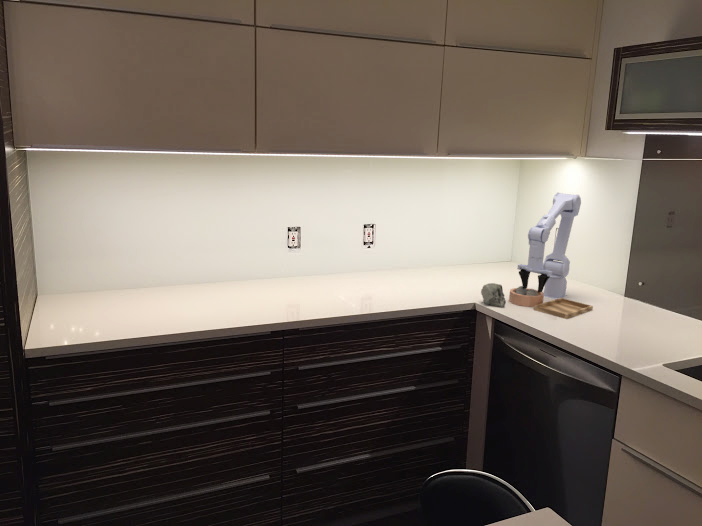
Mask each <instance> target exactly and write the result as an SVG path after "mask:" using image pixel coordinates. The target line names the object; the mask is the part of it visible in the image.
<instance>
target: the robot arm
mask: <svg viewBox="0 0 702 526" xmlns="http://www.w3.org/2000/svg"><path fill="white" fill-rule="evenodd" d="M581 204H582V199H581V197H580V195H579V194H571V193H563V192H556V193H555V194H554V196H553V198H552V206H551V208H550V209H549V211H548V213H547V214H544V215H542V217H541V218H540V220H539V221H538V222H537V223H536V225H535V226H532V227H530V229H529V230H528V233H527V239H528V246H529V250H528V260H527V264H522V263H520V264H519V263H518V264H517V270H519V271H518V275H519V277H520V279H521V286H523V288H524V289H525V288H528V286H529V285H528V284H529V278H530V276H531V275H530V274H531V273H535V274H538V275H537V279H538V281H537V282H538V287H537V290H538V292H543V293H544V297H546V298H551V299H553V300H555V299H559V298H564V297H568V295H566V293H567V292H566V291H567V286H568V285H567V283H568V282H567V279H566V277H568V275H569V272H570V263H571V261H570V260H569V257H567V256H566V251H567V249H568V248H567V247H568V243H569V238H570V235H571V231H572V227H573V224H574V219H575V217H576V216H578V215H579V213H580V209H581ZM559 216H561V218H560V221H559V225H558V226H559V227H558V228H557V229H558V230H557V233H556V237H555V242H554V246H553V250H552V252H551V253H549V254H547V255H546V256H545V247H546V243H547V241H548V240H549V237H550V235H551V230H553V228H554V226H555V225H556V224H557V223H556V220H557V218H558V217H559ZM544 256H545V258H544Z"/></svg>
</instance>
